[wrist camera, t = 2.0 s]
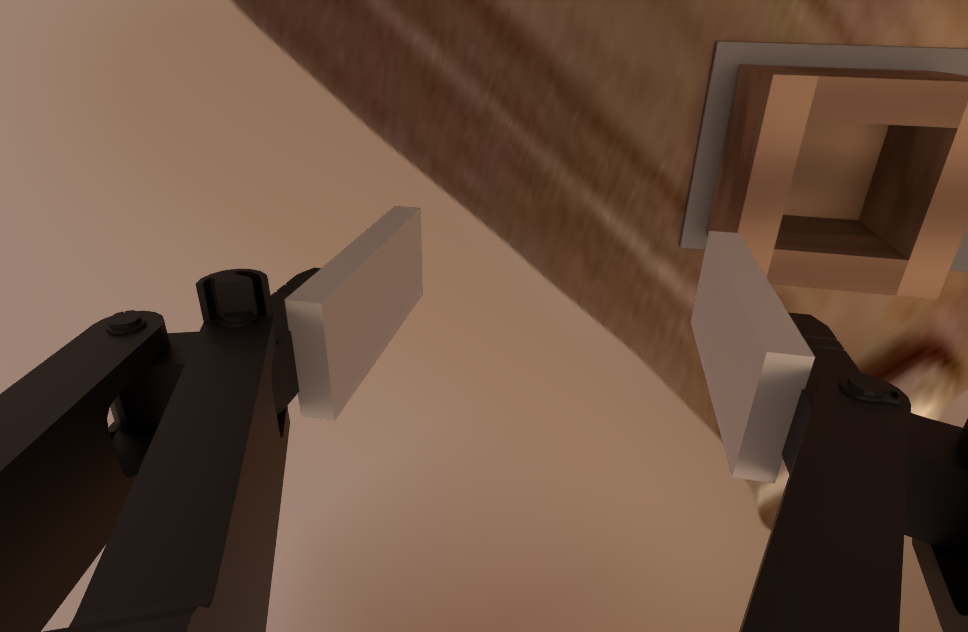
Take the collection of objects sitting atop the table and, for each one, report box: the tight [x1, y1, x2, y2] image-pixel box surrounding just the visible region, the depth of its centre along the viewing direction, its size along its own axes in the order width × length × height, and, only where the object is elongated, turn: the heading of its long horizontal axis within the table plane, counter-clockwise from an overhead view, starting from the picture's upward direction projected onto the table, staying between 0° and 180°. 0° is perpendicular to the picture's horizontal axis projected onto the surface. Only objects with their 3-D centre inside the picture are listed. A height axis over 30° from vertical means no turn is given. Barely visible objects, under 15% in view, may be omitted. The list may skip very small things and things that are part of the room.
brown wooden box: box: [706, 64, 968, 299], centre depth 28 cm, size 9×9×7 cm
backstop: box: [679, 41, 968, 272], centre depth 27 cm, size 16×19×10 cm
